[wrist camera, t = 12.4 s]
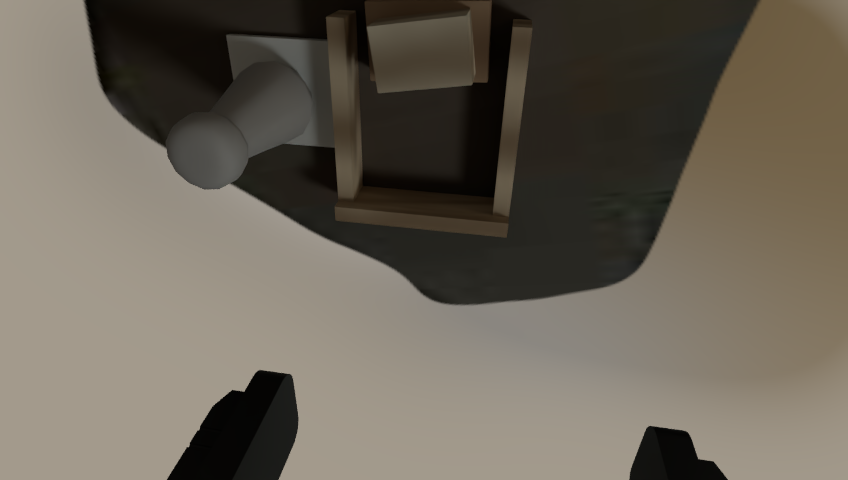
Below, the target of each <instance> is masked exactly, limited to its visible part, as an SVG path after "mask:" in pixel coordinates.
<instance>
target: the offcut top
mask: <svg viewBox="0 0 848 480" xmlns="http://www.w3.org/2000/svg"><path fill="white" fill-rule="evenodd" d="M367 31H368V37H369V43H370V49H371V55H372V61H373V66H374V72H375V78H376V84H377V90H378V93H386V92H398V91H410V90H421V89H433V88H445V87H457V86H468V85H472V84H473V80H474V77H475V73H476V72H475V58H474V45H473V32H472V18H471V8H466V9H457V10H448V11H439V12H431V13H422V14H413V15H405V16H396V17H387V18H378V19H377V20H375V21H374V22H373V23H371V24H370V25H368V26H367Z"/></svg>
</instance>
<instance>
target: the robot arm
mask: <svg viewBox="0 0 848 480" xmlns="http://www.w3.org/2000/svg"><path fill="white" fill-rule="evenodd" d="M297 429H298V411H297V404H296V397H295V390H294V383H293V378H292V376H291V375H290V374H284V373H277V372H270V371H263V370H259V371H257V372H256V373H255V375H254V376H253V378H252V379H251V381H250V383H249V385H248V386H247V388H246V390H245V392H242V391H235V390H232V391H231V392H229V393H228V394H227V395H226V396H225V397H223V398H222V399H221V400H220V401H219V402H217V403H216V404H215V405H214V406H213V407H212V409H211V410H210V412H209V413H208V415H207V416H206V418H205V420H204V421H203V423H202V424H201V426H200V430H199V431H197V432H196V434H195V436H194V437H193V439H192V440H191V442H190V446H189V447H187V448H186V450H185V452H184V453H183V455H182V456H181V458H180V460H179V461H178V463H177V464H176V466H175V467H174V469H173V471H172V472H171V474H170V476H169V477H168V479H167V480H278V479H279V477H280V475H281V472H282V470H283V468H284V465H285V463H286V461H287V458H288V456H289V454H290V451H291V449H292V447H293V444H294V442H295V438H296V434H297ZM629 480H728V479H727V478H726V477H725V476H724V474H723V473H722V472H721V471H720V469H719V468H718V467H717V465H716V464H715V463H714V462H713V461H706V460H700V459H698V457H697V454H696V451H695V448H694V445H693V442H692V439H691V437H690V435H689V434H688V432H686V431H682V430H675V429H668V428H660V427H653V426H649V427H648V428H647V429H646V431H645V433H644V436H643V439H642V441H641V444H640V447H639V449H638V452H637V455H636V457H635V460H634V463H633V465H632V468H631V472H630V479H629Z"/></svg>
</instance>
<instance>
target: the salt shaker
mask: <svg viewBox="0 0 848 480" xmlns="http://www.w3.org/2000/svg"><path fill="white" fill-rule="evenodd" d="M312 105H313V99H312V93H311V91H310V90H309V88H308V87H307V85H306V83H305V81H304V80H303V79H302V77H301V76H300V74H299V73H298V71H297V70H295V69H292V68H290V67H287V66H285V65H282V64H280V63H278V62H275V61H269V62H256V63H253V64H252V65H250V66H249V67H247V68H246V69H244V70H243V71H241V72H240V73H239V75H238V76H237V77H236V78H235V80H234V81H233V82H232V84H231V85H230V86H229V88H228V89H227V90H226V91H225V93H224V94H223V95H222V97H221V98H220V99H219V100H218V102H217V103H216V104H215V106H214V107H213V108H212V109H211V111H210V112H194V113H192V114H190V115H188V116H186V117H185V118H183V119H182V120H180V121H179V122H178V123H176V124H175V125H174V126H173V127H172V129H171V130H170V133H169V135H168V137H167V140H166V148H167V154H168V158H169V160H170V162H171V163H172V165H173V167H174V169H175V171H176V172H177V173H178V174H179V175H181V176H182V177H183V178H184V179H185V180H186V181H187V182H189V183H191V184H193V185H195V186H198V187H200V188H202V189H220V188H222V187H224V186H226V185H228V184H230V183H231V182H233V181H235V180H237V179H238V178H239V177H240V175H241V174H242V172H243V170H244V168H245V166H246V164H247V162H248V158H250V157H252V156H254V155H256V154H259V153H261V152H263V151H266V150H268V149H271V148H273V147H276V146H278V145H281V144H283V143H286V142H288V141H290V140H292V139H294V138H296V137H298V136H300V135H302V134H303V133H304V131H305V129H306V127H307V125H308V123H309V122H310V120H311V118H312Z"/></svg>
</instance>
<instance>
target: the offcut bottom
mask: <svg viewBox="0 0 848 480" xmlns="http://www.w3.org/2000/svg"><path fill="white" fill-rule="evenodd" d="M466 8H471V18H472V32H473V45H474V58H475V72H476V73H475V77H474V80H473V82H481V83H487V82H488V77H489V67H490V42H491V16H492V0H367V1H365V14H366V27H367V26H368V25H370V24H371V23H373V22H374V21H375V20H377V19H378V18H387V17H396V16H405V15H413V14H422V13H431V12H439V11H448V10H457V9H466ZM367 40H368V54H369V67H370V80H371V81H376V78H375V72H374V66H373V61H372V55H371V49H370V43H369V37H368V31H367Z"/></svg>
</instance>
